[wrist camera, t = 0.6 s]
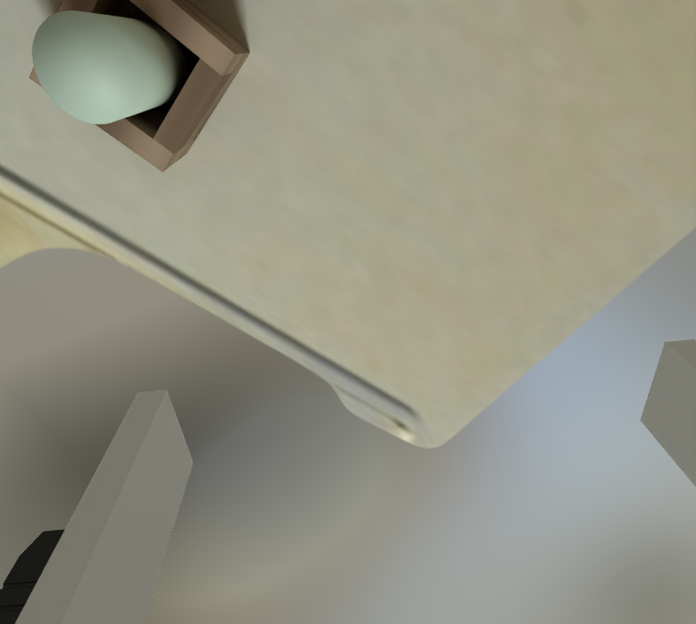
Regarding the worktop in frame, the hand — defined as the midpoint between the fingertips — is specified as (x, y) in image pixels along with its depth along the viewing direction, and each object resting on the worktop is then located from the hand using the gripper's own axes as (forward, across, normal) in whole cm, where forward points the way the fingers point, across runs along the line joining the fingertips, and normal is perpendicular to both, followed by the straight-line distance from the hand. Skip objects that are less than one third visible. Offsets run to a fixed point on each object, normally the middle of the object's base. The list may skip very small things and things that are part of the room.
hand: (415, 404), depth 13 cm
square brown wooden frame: (+29, -13, +8) cm, 33 cm away
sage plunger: (+26, -13, +8) cm, 30 cm away
